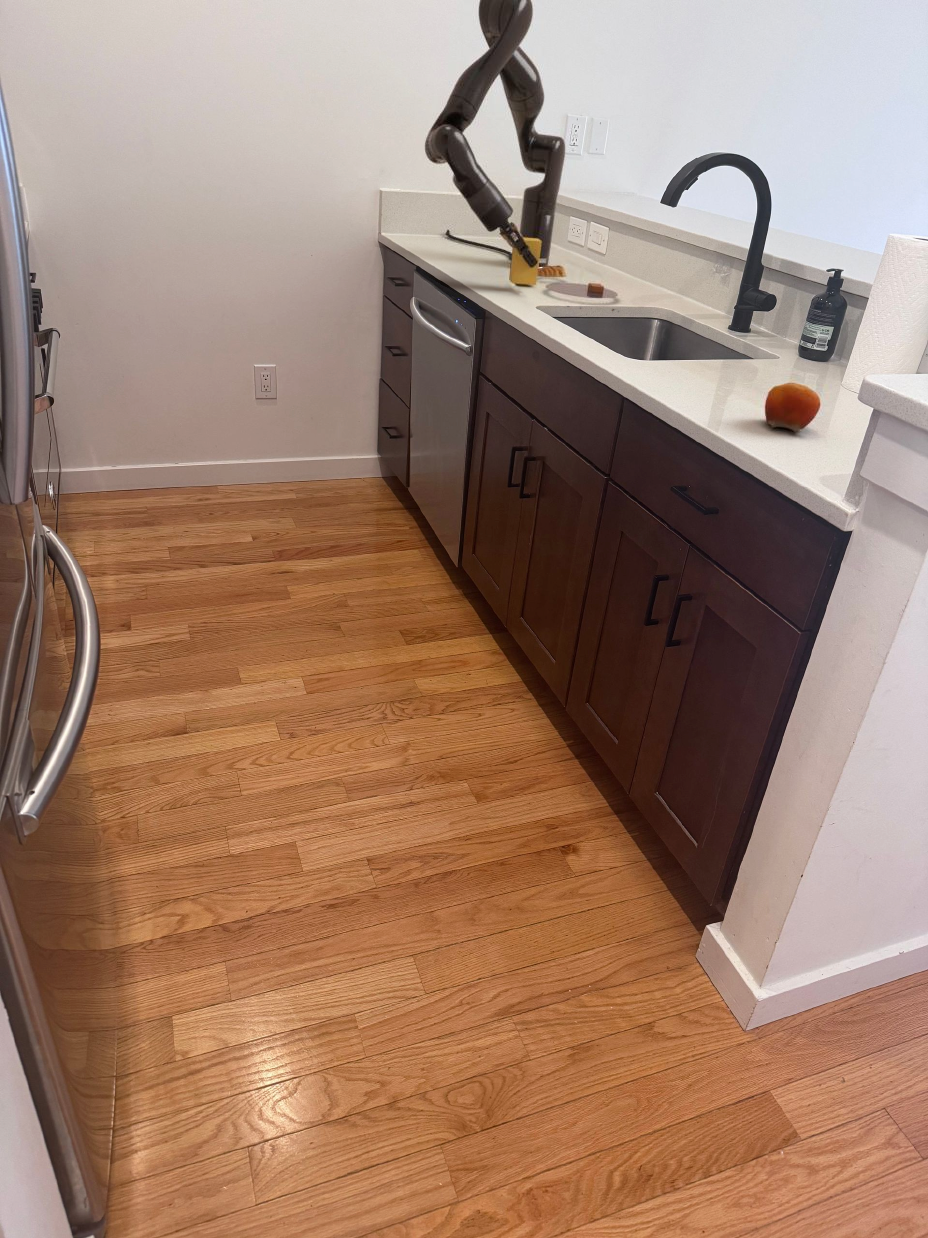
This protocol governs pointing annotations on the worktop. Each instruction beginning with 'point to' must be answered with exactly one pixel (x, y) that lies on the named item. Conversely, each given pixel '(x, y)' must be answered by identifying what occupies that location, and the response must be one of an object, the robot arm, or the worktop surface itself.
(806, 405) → the fruit
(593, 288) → the orange slab
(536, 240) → the sponge
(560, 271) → the pastry
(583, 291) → the plate
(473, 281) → the worktop surface
